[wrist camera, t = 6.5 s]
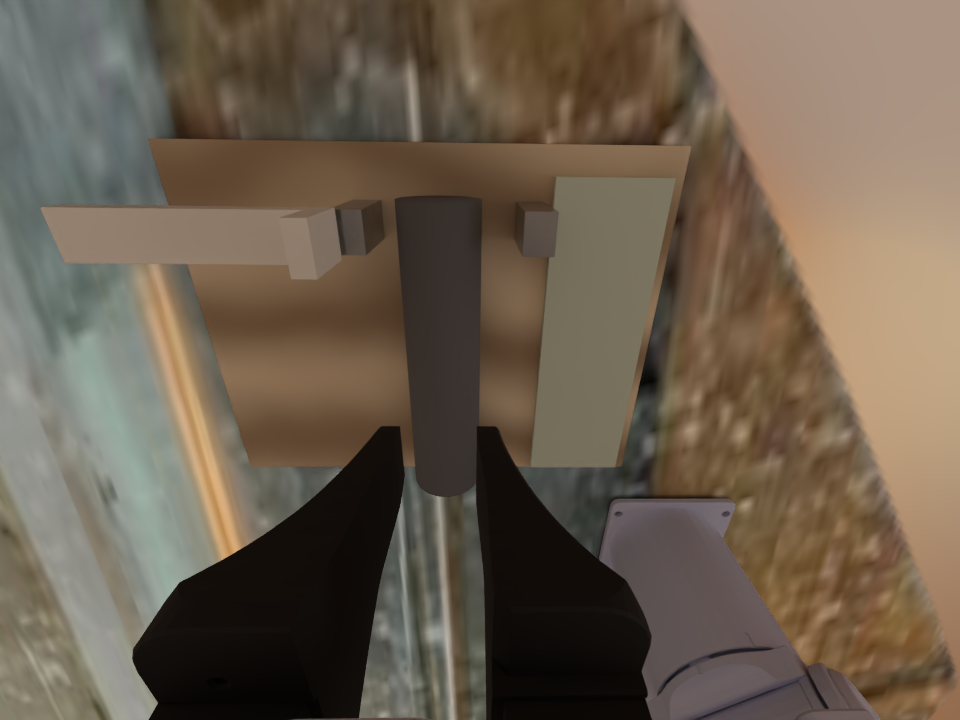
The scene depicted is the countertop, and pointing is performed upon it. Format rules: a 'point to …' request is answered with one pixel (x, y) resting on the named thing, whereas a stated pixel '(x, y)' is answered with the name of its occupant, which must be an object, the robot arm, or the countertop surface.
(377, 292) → the board
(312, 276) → the beige l-shaped block
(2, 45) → the countertop surface
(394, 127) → the countertop surface
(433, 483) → the dark grey rod
